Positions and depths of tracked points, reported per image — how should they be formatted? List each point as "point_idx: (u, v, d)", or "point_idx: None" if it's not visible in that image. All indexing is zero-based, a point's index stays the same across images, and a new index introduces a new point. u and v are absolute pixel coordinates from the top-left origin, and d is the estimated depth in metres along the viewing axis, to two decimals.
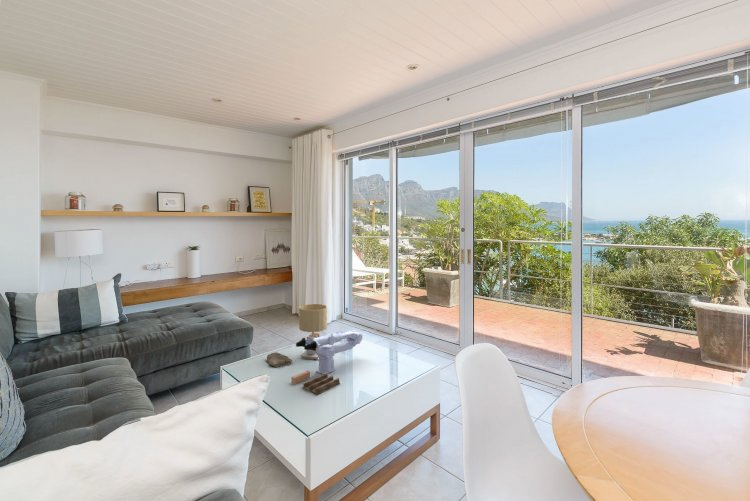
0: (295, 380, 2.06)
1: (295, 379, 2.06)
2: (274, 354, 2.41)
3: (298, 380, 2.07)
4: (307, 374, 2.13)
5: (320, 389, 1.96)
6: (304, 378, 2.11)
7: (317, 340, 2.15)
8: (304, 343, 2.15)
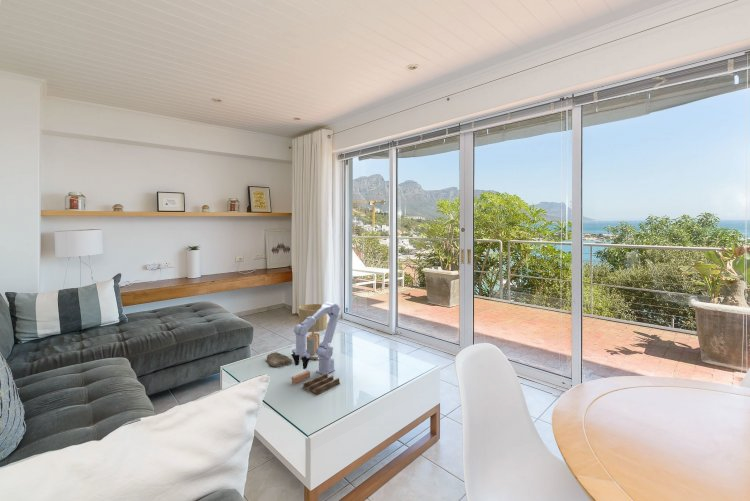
0: (295, 380, 2.06)
1: (295, 379, 2.06)
2: (274, 354, 2.41)
3: (298, 380, 2.07)
4: (307, 374, 2.13)
5: (320, 389, 1.96)
6: (304, 378, 2.11)
7: (300, 350, 2.06)
8: (297, 355, 2.12)
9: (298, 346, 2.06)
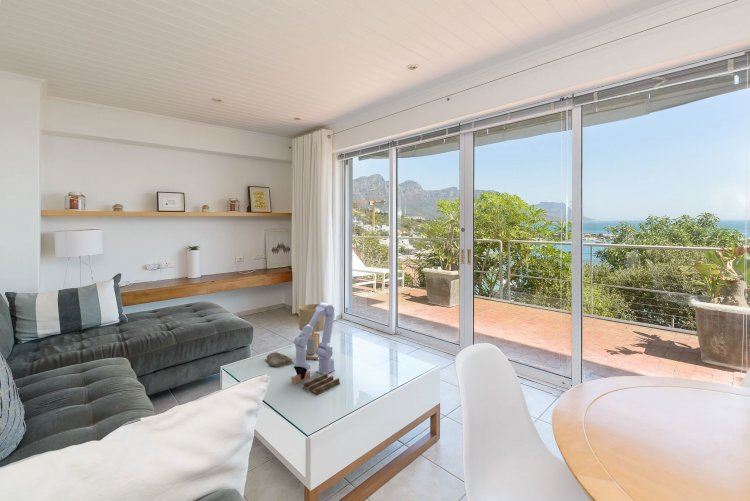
0: (295, 380, 2.06)
1: (295, 379, 2.06)
2: (274, 354, 2.41)
3: (298, 380, 2.07)
4: (307, 374, 2.13)
5: (320, 389, 1.96)
6: (304, 378, 2.11)
7: (300, 361, 2.07)
8: (299, 367, 2.11)
9: (298, 358, 2.07)
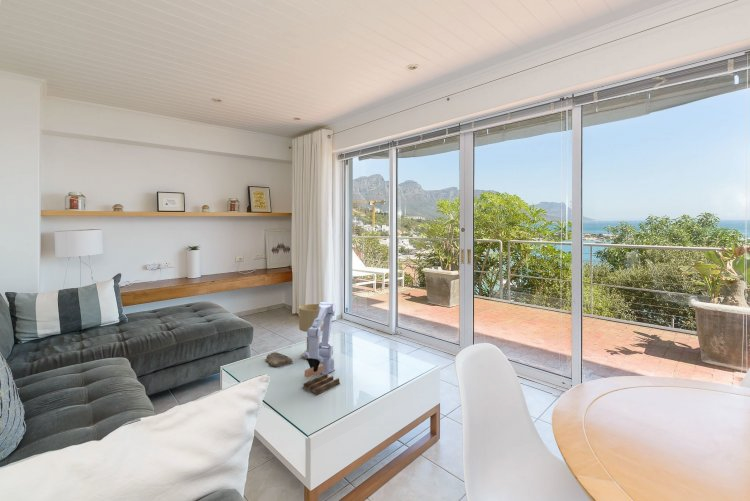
0: (308, 373, 2.01)
1: (308, 372, 2.01)
2: (274, 354, 2.41)
3: (311, 373, 2.02)
4: (320, 367, 2.07)
5: (320, 389, 1.96)
6: (317, 371, 2.06)
7: (313, 353, 2.02)
8: (312, 359, 2.06)
9: (311, 349, 2.01)
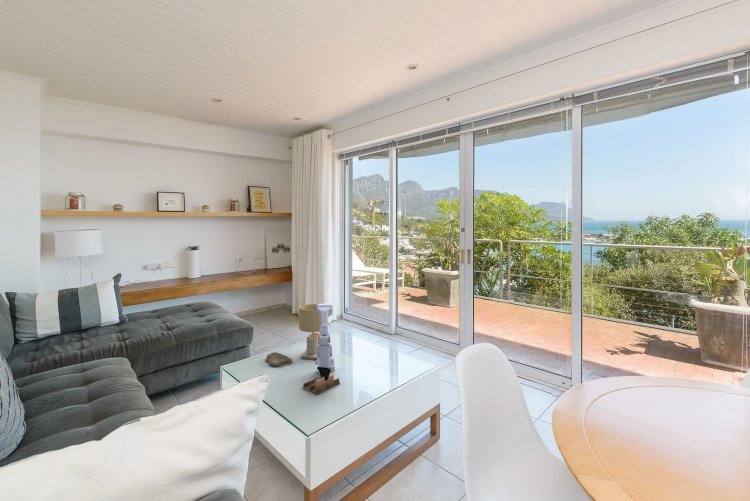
0: (319, 383, 1.97)
1: (319, 382, 1.97)
2: (274, 354, 2.41)
3: (322, 383, 1.99)
4: (331, 377, 2.04)
5: (320, 389, 1.96)
6: (328, 381, 2.02)
7: (324, 361, 1.98)
8: (323, 368, 2.02)
9: (322, 358, 1.98)
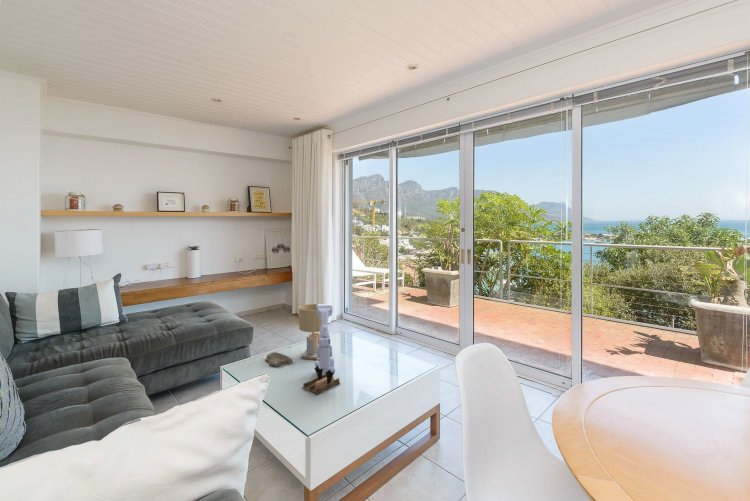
0: (319, 385, 1.97)
1: (319, 384, 1.97)
2: (274, 354, 2.41)
3: None
4: None
5: (320, 389, 1.96)
6: None
7: (324, 363, 1.98)
8: (320, 368, 2.04)
9: (322, 360, 1.98)
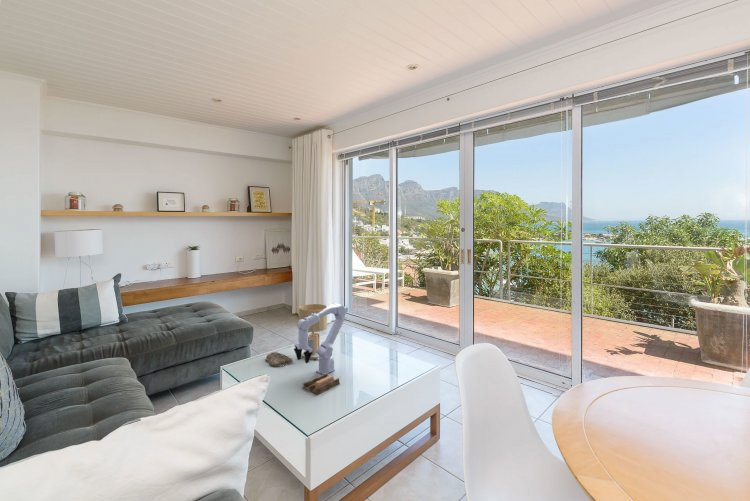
0: (319, 385, 1.97)
1: (319, 384, 1.97)
2: (274, 354, 2.41)
3: None
4: (331, 379, 2.04)
5: (320, 389, 1.96)
6: None
7: (303, 344, 2.11)
8: (299, 349, 2.16)
9: (301, 340, 2.11)
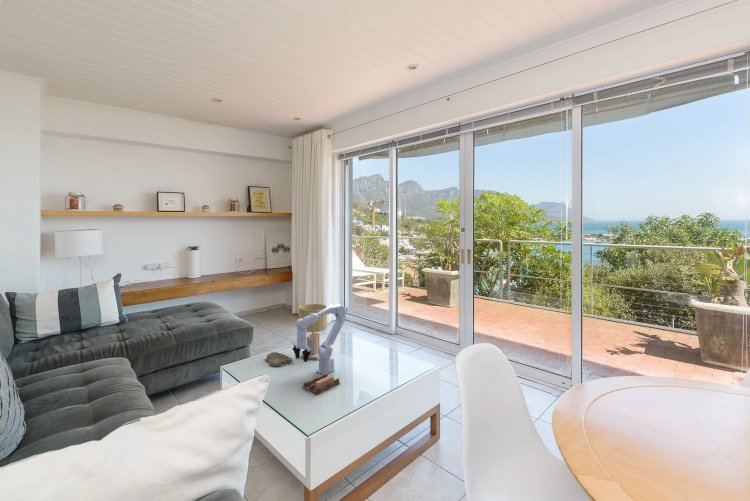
0: (319, 385, 1.97)
1: (319, 384, 1.97)
2: (274, 354, 2.41)
3: None
4: (331, 379, 2.04)
5: (320, 389, 1.96)
6: None
7: (301, 343, 2.12)
8: (298, 348, 2.18)
9: (299, 340, 2.12)
